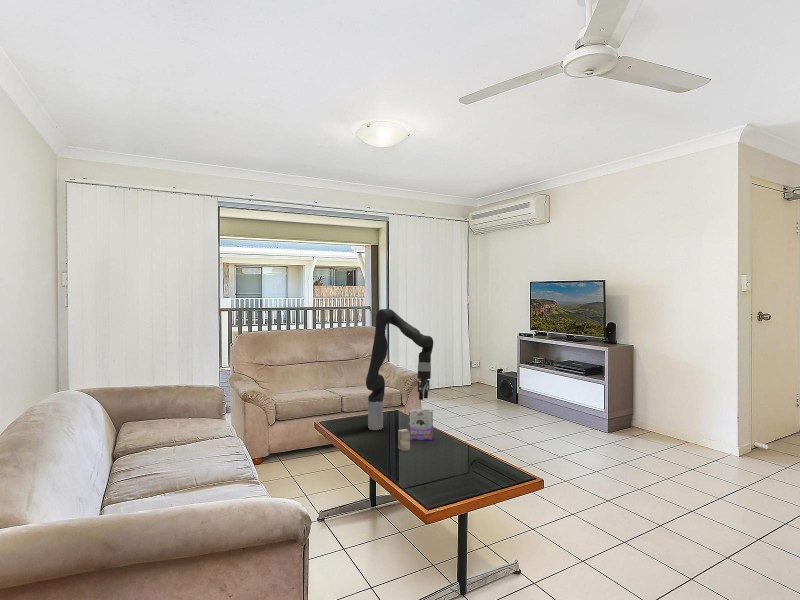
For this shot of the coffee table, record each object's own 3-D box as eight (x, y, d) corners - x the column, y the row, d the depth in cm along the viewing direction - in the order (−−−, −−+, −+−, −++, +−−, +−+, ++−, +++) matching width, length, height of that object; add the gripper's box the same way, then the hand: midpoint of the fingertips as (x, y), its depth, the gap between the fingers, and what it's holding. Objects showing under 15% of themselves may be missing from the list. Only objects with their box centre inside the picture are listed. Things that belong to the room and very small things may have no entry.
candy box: (432, 437, 260) (433, 409, 260) (432, 440, 254) (432, 411, 254) (409, 436, 262) (409, 408, 262) (408, 439, 256) (408, 411, 256)
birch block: (398, 448, 241) (398, 430, 241) (406, 447, 242) (406, 429, 242) (401, 451, 236) (401, 432, 236) (409, 450, 238) (409, 431, 238)
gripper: (422, 369, 264) (421, 397, 262) (413, 370, 250) (412, 399, 249) (434, 370, 261) (433, 398, 259) (426, 371, 248) (425, 400, 246)
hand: (423, 399), depth 254 cm, fingers open, 8 cm apart
